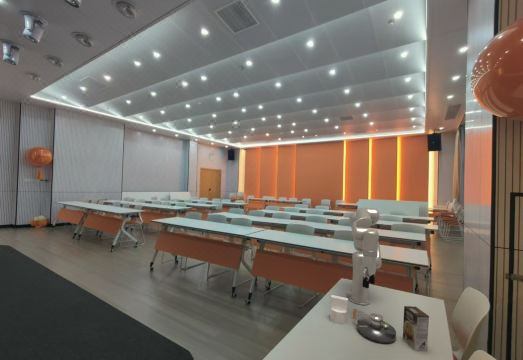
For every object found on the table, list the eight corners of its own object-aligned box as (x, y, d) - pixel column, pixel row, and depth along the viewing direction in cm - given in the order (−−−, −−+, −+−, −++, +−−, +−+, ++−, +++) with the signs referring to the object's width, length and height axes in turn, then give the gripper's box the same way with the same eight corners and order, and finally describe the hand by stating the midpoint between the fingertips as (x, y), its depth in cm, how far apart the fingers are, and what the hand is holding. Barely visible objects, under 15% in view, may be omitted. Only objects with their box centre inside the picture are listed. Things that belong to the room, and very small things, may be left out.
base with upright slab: (329, 321, 137) (330, 299, 137) (330, 314, 145) (331, 292, 146) (346, 325, 134) (348, 302, 134) (347, 317, 142) (348, 296, 143)
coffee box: (401, 338, 125) (403, 305, 125) (414, 338, 125) (415, 305, 125) (414, 351, 116) (416, 315, 116) (428, 351, 116) (429, 315, 116)
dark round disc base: (351, 332, 128) (351, 323, 128) (364, 319, 141) (364, 311, 141) (389, 349, 116) (390, 340, 116) (400, 333, 129) (400, 325, 129)
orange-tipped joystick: (384, 327, 129) (384, 316, 129) (380, 331, 124) (380, 320, 124) (355, 315, 139) (355, 306, 139) (351, 319, 134) (351, 309, 134)
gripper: (368, 249, 148) (367, 279, 148) (357, 254, 135) (355, 287, 135) (382, 252, 143) (380, 283, 143) (371, 257, 130) (370, 292, 130)
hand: (368, 285), depth 139 cm, fingers open, 8 cm apart
